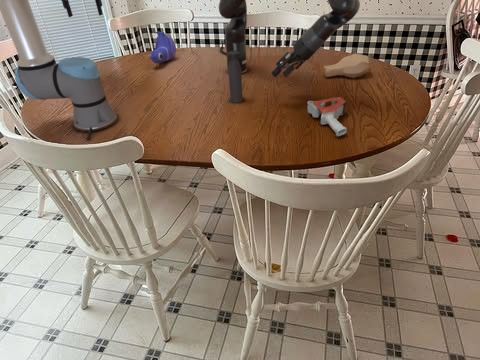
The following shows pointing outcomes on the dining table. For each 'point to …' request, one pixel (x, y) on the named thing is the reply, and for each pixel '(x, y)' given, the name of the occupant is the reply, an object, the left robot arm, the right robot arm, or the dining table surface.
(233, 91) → the bottle
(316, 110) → the tape dispenser
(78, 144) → the dining table surface
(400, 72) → the dining table surface
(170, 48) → the toy
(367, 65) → the squash
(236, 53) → the cap
